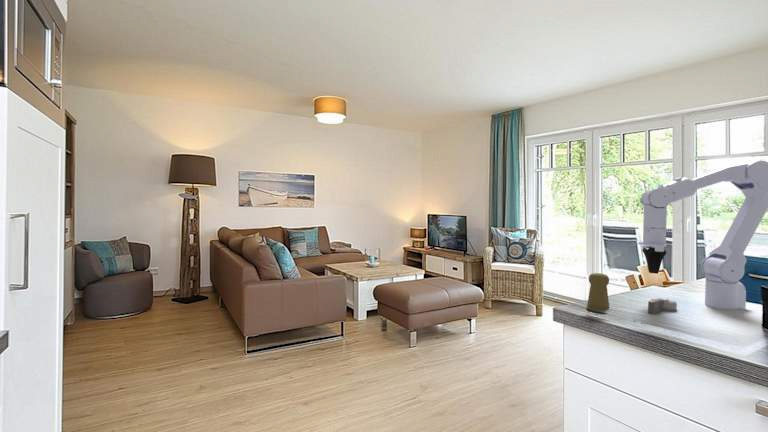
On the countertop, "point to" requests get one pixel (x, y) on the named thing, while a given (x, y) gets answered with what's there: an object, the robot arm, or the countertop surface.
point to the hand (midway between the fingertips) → (653, 272)
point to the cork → (598, 292)
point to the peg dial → (661, 305)
